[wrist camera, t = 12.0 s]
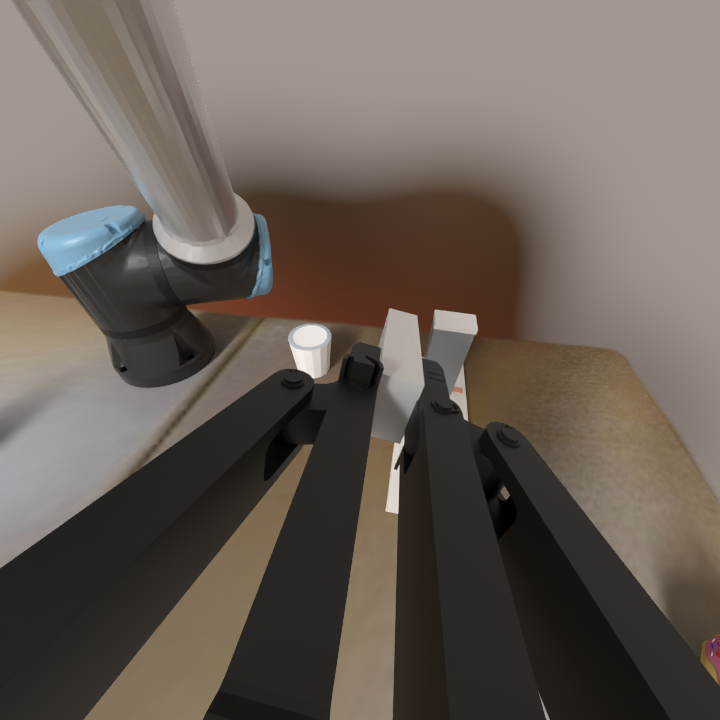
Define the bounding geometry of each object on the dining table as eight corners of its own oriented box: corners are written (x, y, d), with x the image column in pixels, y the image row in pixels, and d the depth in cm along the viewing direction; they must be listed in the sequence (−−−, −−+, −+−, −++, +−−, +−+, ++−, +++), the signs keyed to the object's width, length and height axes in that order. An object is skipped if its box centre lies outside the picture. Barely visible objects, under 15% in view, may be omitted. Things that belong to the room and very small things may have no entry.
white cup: (304, 387, 46) (299, 356, 41) (287, 362, 50) (280, 331, 45) (340, 370, 49) (339, 340, 44) (321, 348, 53) (318, 318, 48)
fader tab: (451, 395, 43) (478, 329, 34) (417, 390, 43) (434, 323, 35) (450, 380, 45) (475, 315, 36) (418, 375, 46) (435, 309, 37)
